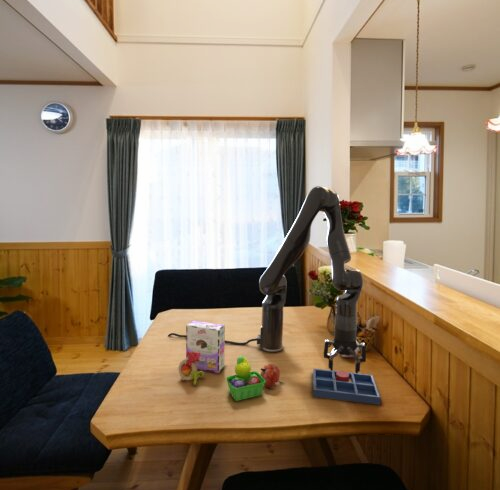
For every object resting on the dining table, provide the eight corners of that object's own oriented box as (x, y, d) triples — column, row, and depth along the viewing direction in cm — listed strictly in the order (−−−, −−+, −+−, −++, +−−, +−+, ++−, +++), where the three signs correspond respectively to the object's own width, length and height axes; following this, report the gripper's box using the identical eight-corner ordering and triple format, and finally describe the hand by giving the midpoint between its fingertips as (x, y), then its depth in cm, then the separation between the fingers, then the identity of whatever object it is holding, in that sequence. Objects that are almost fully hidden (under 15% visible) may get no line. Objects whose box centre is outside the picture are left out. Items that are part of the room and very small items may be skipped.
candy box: (224, 366, 132) (225, 324, 131) (218, 374, 126) (219, 330, 126) (192, 360, 137) (193, 319, 136) (185, 367, 131) (185, 324, 130)
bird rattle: (179, 390, 119) (202, 385, 116) (168, 359, 119) (190, 353, 117) (188, 381, 125) (209, 375, 122) (177, 352, 125) (198, 345, 123)
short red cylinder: (336, 384, 120) (336, 376, 120) (335, 377, 125) (335, 370, 125) (349, 385, 120) (349, 377, 120) (348, 379, 124) (348, 371, 124)
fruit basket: (233, 404, 108) (234, 369, 108) (224, 389, 116) (224, 357, 116) (265, 396, 113) (266, 363, 112) (254, 383, 121) (255, 351, 120)
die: (355, 364, 138) (366, 342, 140) (335, 351, 139) (347, 329, 142) (349, 362, 146) (360, 341, 148) (330, 350, 147) (341, 329, 150)
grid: (313, 396, 114) (313, 389, 114) (313, 374, 128) (313, 368, 128) (380, 404, 110) (380, 397, 110) (372, 381, 124) (372, 374, 124)
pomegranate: (273, 383, 125) (252, 369, 123) (286, 368, 124) (265, 353, 123) (277, 398, 118) (254, 382, 116) (291, 382, 117) (268, 366, 115)
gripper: (365, 323, 124) (363, 367, 124) (324, 320, 126) (322, 363, 127) (368, 331, 116) (366, 378, 117) (325, 328, 119) (323, 373, 119)
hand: (343, 370), depth 122 cm, fingers open, 8 cm apart
